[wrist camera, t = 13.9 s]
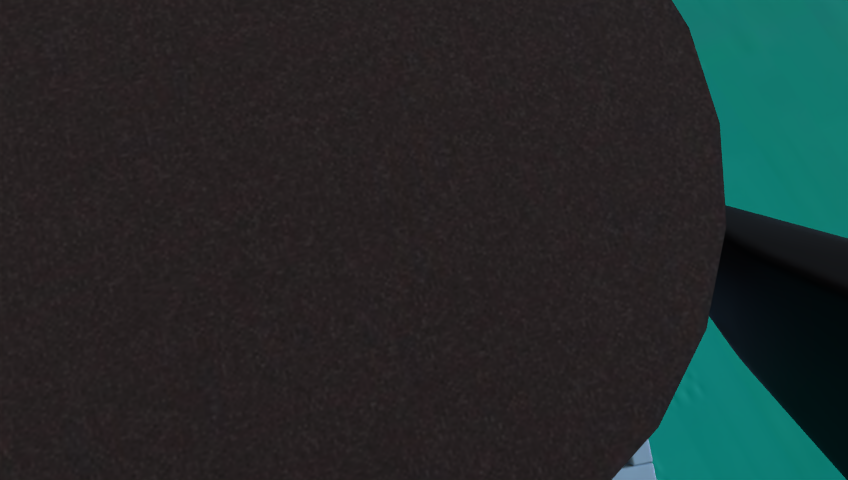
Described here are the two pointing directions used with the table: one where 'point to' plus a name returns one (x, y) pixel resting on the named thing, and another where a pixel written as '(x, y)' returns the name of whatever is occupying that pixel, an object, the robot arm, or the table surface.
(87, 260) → the deodorant
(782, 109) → the table surface
